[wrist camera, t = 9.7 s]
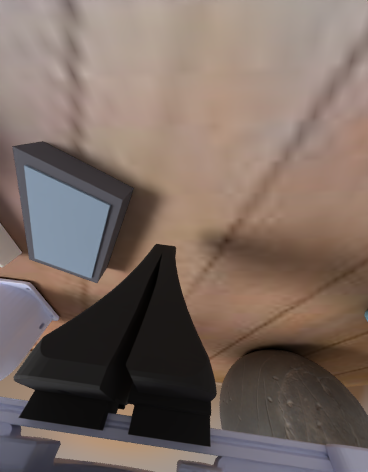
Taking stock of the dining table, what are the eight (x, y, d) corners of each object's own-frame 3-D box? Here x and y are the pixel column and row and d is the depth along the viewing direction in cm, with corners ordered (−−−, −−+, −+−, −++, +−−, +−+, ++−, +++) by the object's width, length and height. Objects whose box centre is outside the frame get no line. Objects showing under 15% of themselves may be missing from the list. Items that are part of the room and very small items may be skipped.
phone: (108, 264, 17) (96, 284, 15) (49, 242, 16) (27, 260, 14) (135, 186, 12) (121, 201, 10) (47, 140, 10) (9, 146, 8)
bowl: (360, 350, 23) (480, 528, 13) (277, 376, 34) (309, 485, 24) (254, 321, 21) (303, 511, 11) (200, 358, 32) (200, 472, 22)
